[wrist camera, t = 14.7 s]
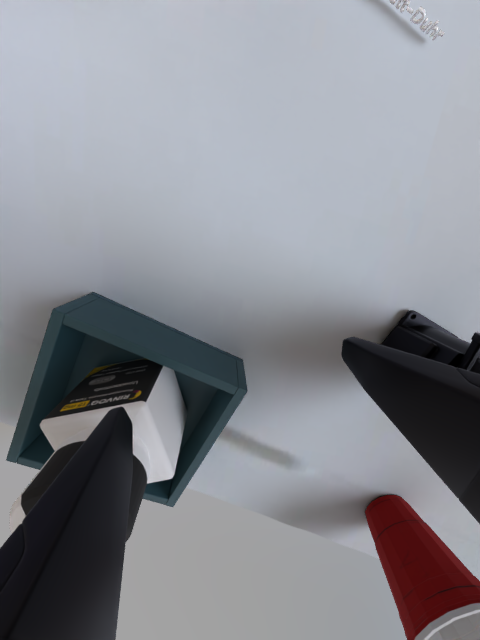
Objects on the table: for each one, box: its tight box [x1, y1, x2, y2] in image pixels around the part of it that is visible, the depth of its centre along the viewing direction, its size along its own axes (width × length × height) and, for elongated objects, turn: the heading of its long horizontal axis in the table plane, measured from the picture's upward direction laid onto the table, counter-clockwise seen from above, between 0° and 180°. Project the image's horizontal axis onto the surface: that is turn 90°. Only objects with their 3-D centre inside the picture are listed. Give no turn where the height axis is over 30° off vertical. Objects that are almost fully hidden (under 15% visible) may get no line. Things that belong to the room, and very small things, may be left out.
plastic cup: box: [365, 495, 480, 640], centre depth 26 cm, size 11×11×12 cm
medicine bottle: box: [10, 358, 187, 541], centre depth 17 cm, size 7×7×12 cm
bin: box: [6, 292, 247, 507], centre depth 21 cm, size 15×15×5 cm
